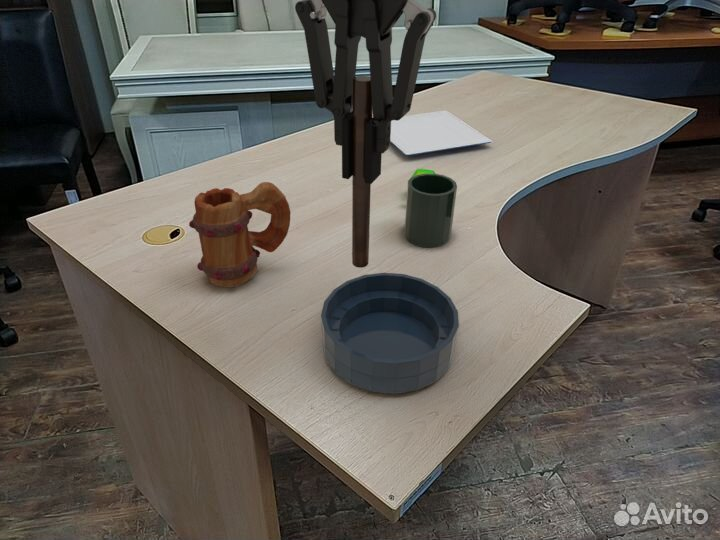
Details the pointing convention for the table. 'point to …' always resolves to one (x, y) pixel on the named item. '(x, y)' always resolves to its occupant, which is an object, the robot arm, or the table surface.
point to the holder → (429, 209)
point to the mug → (237, 231)
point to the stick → (360, 172)
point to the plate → (433, 133)
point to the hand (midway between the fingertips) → (361, 175)
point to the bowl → (389, 332)
